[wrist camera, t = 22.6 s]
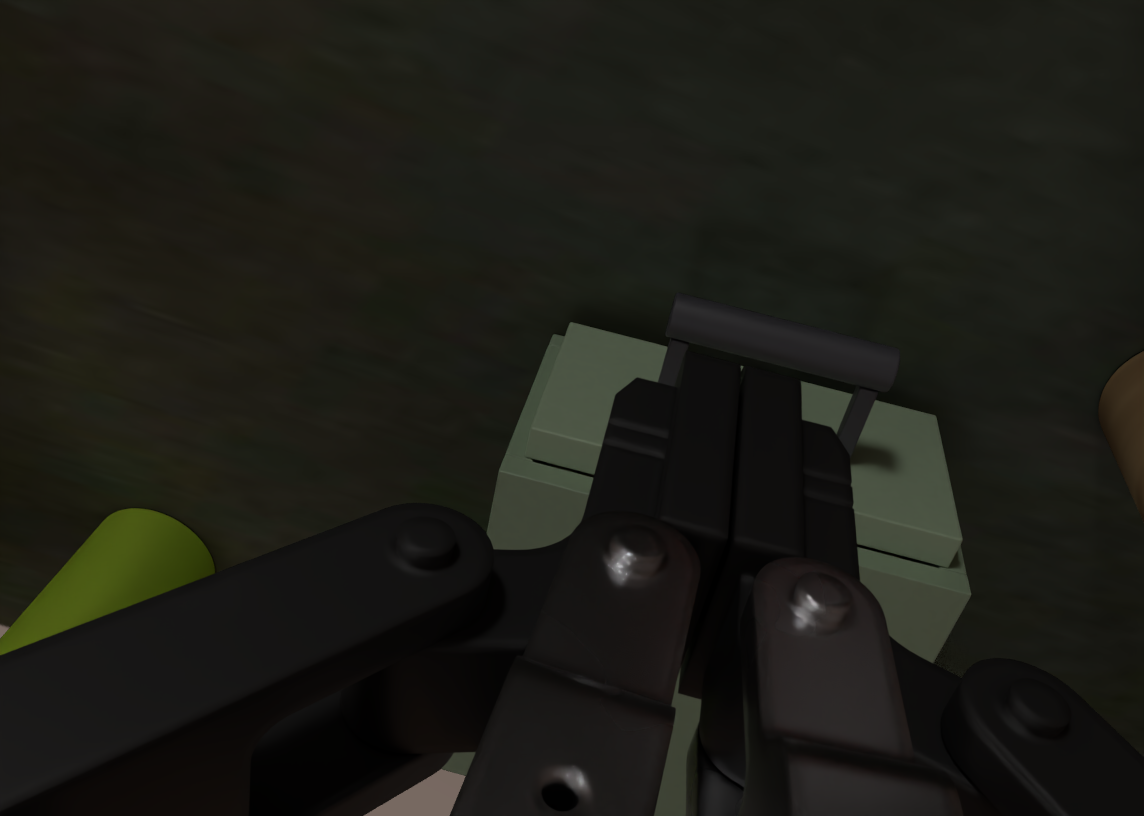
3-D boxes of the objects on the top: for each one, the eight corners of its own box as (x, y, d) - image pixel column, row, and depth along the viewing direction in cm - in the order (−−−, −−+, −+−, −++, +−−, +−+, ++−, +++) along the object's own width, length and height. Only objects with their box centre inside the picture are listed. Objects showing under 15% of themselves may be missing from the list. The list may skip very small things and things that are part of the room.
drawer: (593, 213, 36) (555, 306, 30) (985, 311, 36) (1024, 426, 30) (511, 588, 46) (470, 714, 40) (816, 670, 46) (820, 809, 40)
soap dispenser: (254, 567, 49) (-18, 989, 33) (164, 619, 52) (-127, 1030, 36) (162, 479, 47) (-178, 880, 31) (74, 539, 50) (-278, 933, 34)
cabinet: (553, 332, 40) (498, 470, 32) (937, 431, 39) (971, 595, 32) (495, 608, 48) (440, 769, 41) (812, 693, 48) (816, 873, 40)
